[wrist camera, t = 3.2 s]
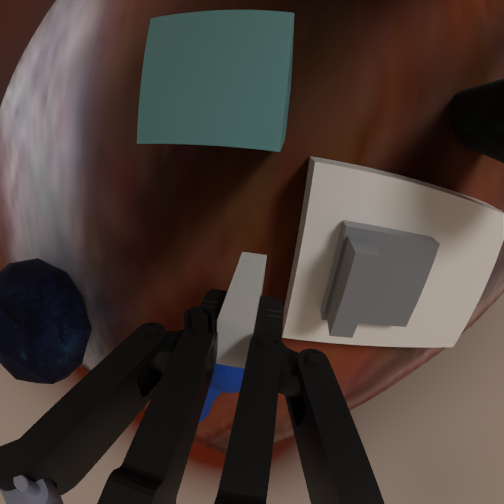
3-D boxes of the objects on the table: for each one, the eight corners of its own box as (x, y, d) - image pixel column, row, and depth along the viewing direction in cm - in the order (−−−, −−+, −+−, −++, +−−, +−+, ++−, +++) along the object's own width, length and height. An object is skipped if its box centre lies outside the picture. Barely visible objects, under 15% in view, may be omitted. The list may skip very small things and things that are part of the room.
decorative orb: (7, 212, 19) (-56, 323, 12) (105, 301, 21) (36, 427, 14) (45, 254, 31) (-2, 333, 24) (119, 316, 34) (70, 400, 27)
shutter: (342, 220, 17) (354, 241, 14) (432, 237, 16) (456, 259, 13) (320, 309, 20) (324, 342, 17) (401, 317, 20) (415, 347, 16)
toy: (206, 398, 35) (275, 354, 28) (194, 433, 29) (269, 400, 23) (166, 374, 34) (224, 321, 27) (149, 409, 28) (208, 367, 22)
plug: (237, 84, 18) (151, 18, 5) (290, 89, 17) (294, 12, 5) (232, 134, 19) (137, 143, 7) (285, 139, 19) (279, 151, 7)
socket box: (309, 156, 19) (314, 161, 16) (485, 202, 18) (510, 216, 14) (283, 309, 25) (282, 337, 22) (439, 323, 24) (453, 347, 21)
